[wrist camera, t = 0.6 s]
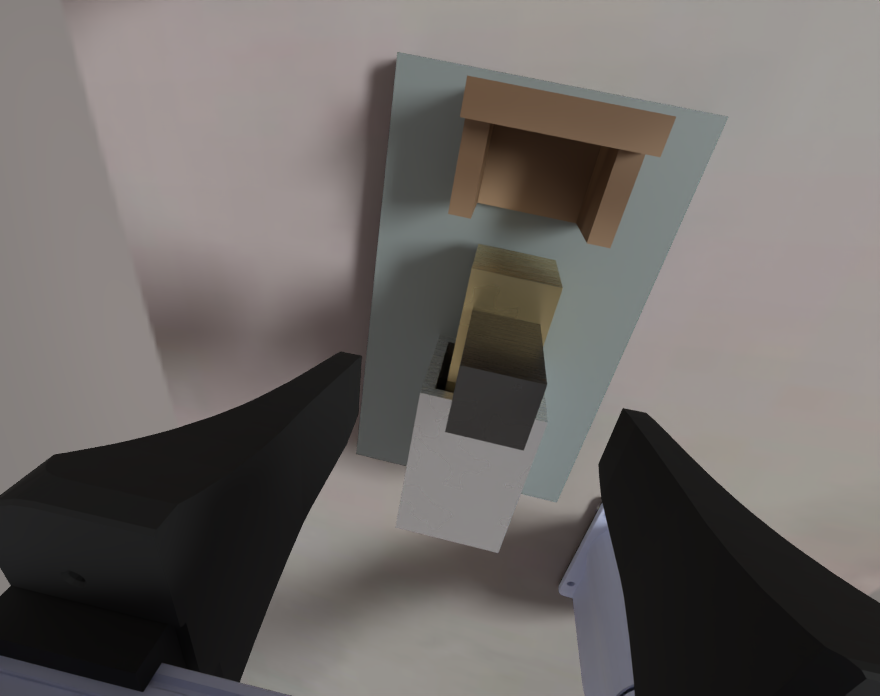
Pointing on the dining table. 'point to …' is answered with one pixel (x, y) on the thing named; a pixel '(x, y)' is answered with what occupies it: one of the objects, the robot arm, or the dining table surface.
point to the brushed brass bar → (502, 346)
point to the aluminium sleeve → (460, 470)
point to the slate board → (456, 240)
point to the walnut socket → (552, 155)
